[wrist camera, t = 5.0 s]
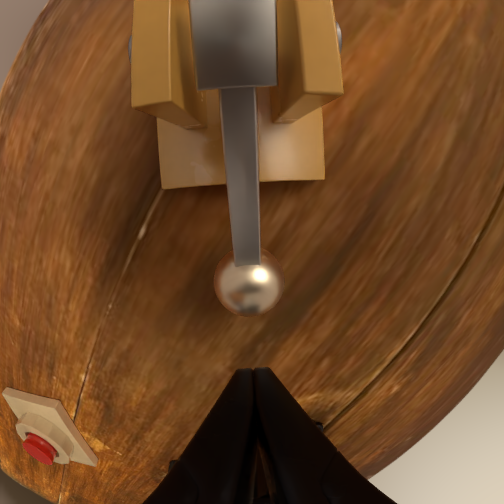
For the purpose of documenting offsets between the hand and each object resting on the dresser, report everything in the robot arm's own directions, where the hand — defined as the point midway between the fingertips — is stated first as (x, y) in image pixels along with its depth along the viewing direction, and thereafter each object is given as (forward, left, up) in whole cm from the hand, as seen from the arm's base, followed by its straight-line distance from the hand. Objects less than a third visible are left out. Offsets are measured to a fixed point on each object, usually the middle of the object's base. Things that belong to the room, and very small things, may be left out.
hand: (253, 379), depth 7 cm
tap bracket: (+9, 0, -10) cm, 13 cm away
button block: (-18, +22, -10) cm, 30 cm away
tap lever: (+5, 0, -6) cm, 8 cm away
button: (-18, +22, -7) cm, 29 cm away
